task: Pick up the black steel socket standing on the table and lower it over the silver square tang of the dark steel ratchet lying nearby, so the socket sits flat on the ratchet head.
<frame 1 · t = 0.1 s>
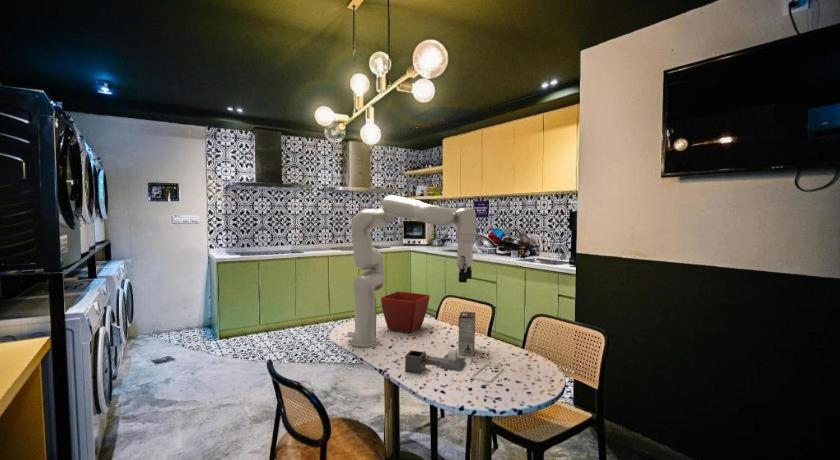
hand: (465, 280, 160), 31 cm above the table, tool pointing down, fingers open, 9 cm apart
phone case: (487, 375, 144), on the table
ratchet: (432, 362, 153), on the table
plant pot: (405, 329, 199), on the table
coffee box: (466, 352, 166), on the table
socket: (415, 369, 146), on the table
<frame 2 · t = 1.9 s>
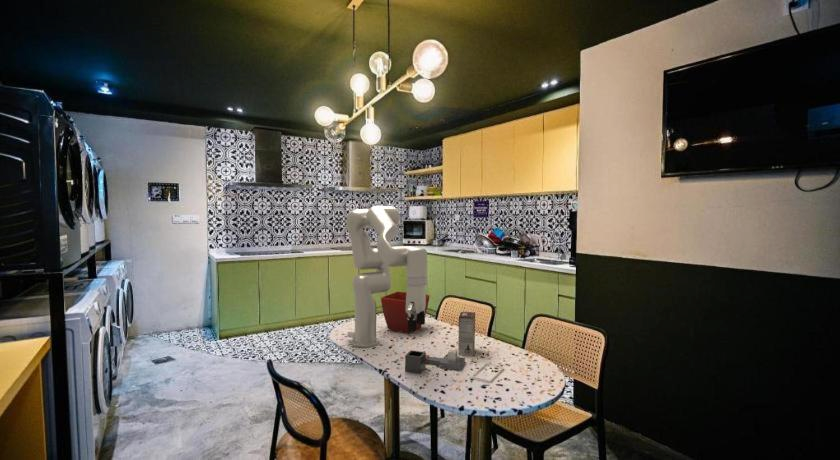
hand: (416, 327, 145), 16 cm above the table, tool pointing down, fingers open, 9 cm apart
nothing on the table moved.
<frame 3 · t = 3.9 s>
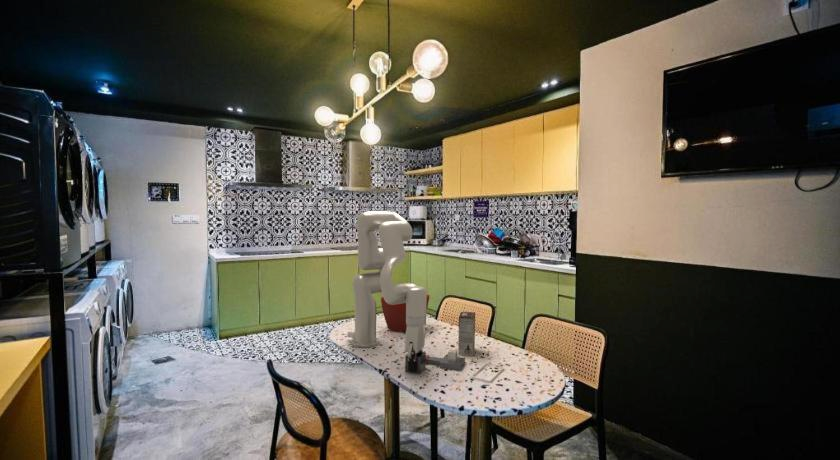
hand: (415, 367, 146), 1 cm above the table, tool pointing down, fingers closed on socket, 6 cm apart
socket: (415, 369, 146), on the table, touching gripper
everything else where it was.
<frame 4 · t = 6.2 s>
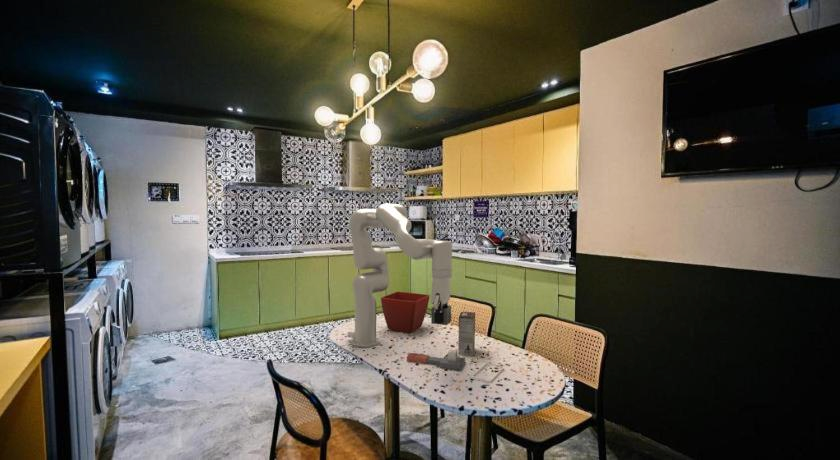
hand: (441, 320, 148), 18 cm above the table, tool pointing down, fingers closed on socket, 6 cm apart
socket: (441, 322, 148), point 17 cm above the table, touching gripper
everything else where it was.
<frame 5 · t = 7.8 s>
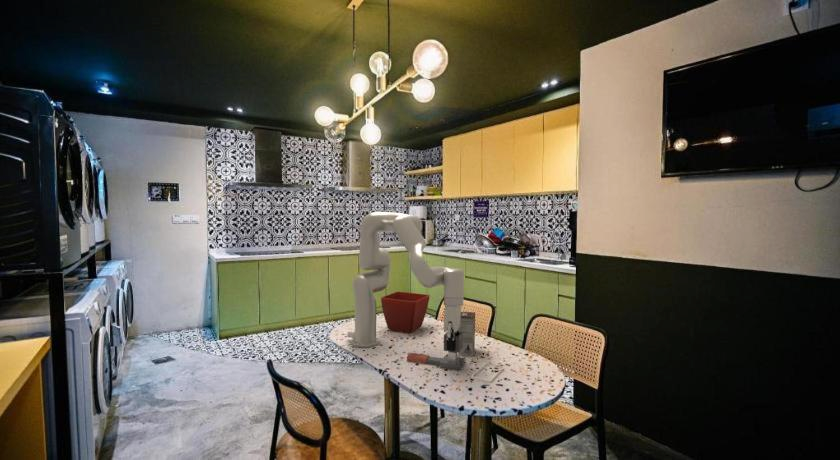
hand: (453, 347, 151), 7 cm above the table, tool pointing down, fingers closed on socket, 6 cm apart
socket: (453, 349, 151), point 6 cm above the table, touching gripper
everything else where it was.
when the fingers open (4 cm above the table, at t = 8.9 s): socket drops 1 cm, resting on ratchet.
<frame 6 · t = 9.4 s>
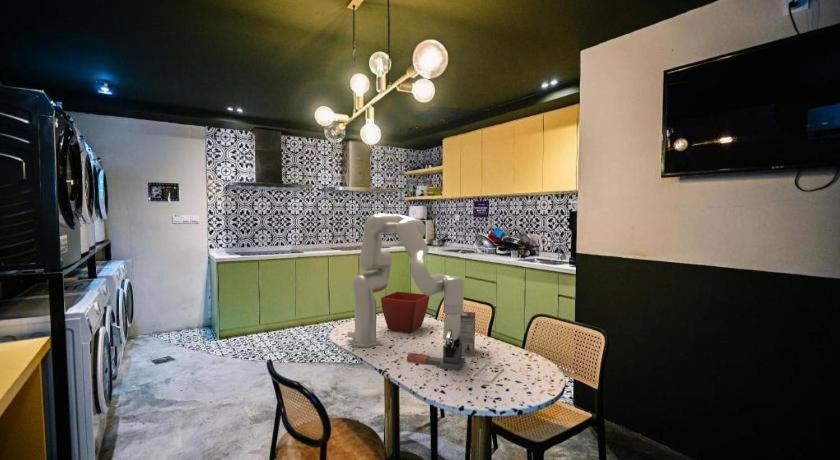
hand: (452, 353, 151), 5 cm above the table, tool pointing down, fingers open, 9 cm apart
socket: (452, 360, 151), point 2 cm above the table, touching ratchet
everything else where it was.
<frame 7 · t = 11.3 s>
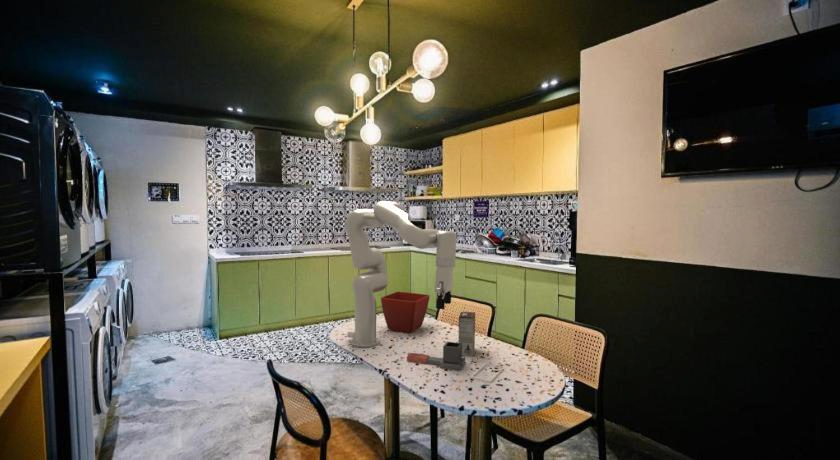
hand: (443, 305, 154), 22 cm above the table, tool pointing down, fingers open, 9 cm apart
nothing on the table moved.
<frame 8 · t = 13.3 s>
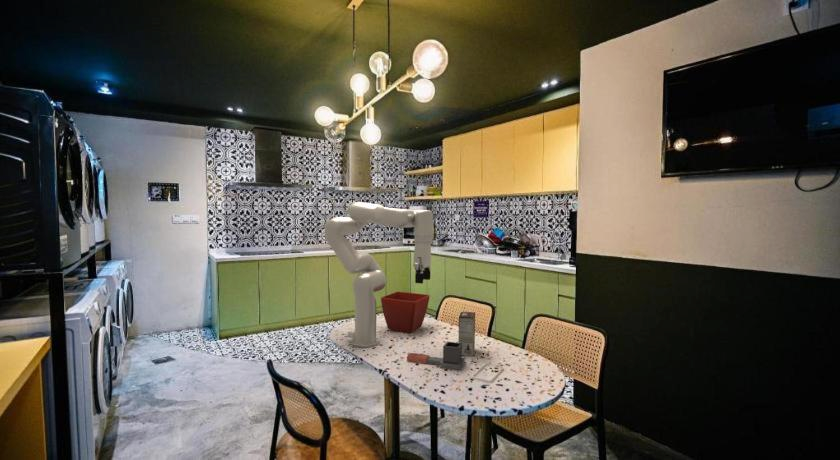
hand: (422, 281, 162), 30 cm above the table, tool pointing down, fingers open, 9 cm apart
nothing on the table moved.
at the end: socket 0.0 cm from the target spot on the ratchet, point 2.0 cm above the ratchet's base; socket tilted 0°; the gripper is holding nothing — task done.
